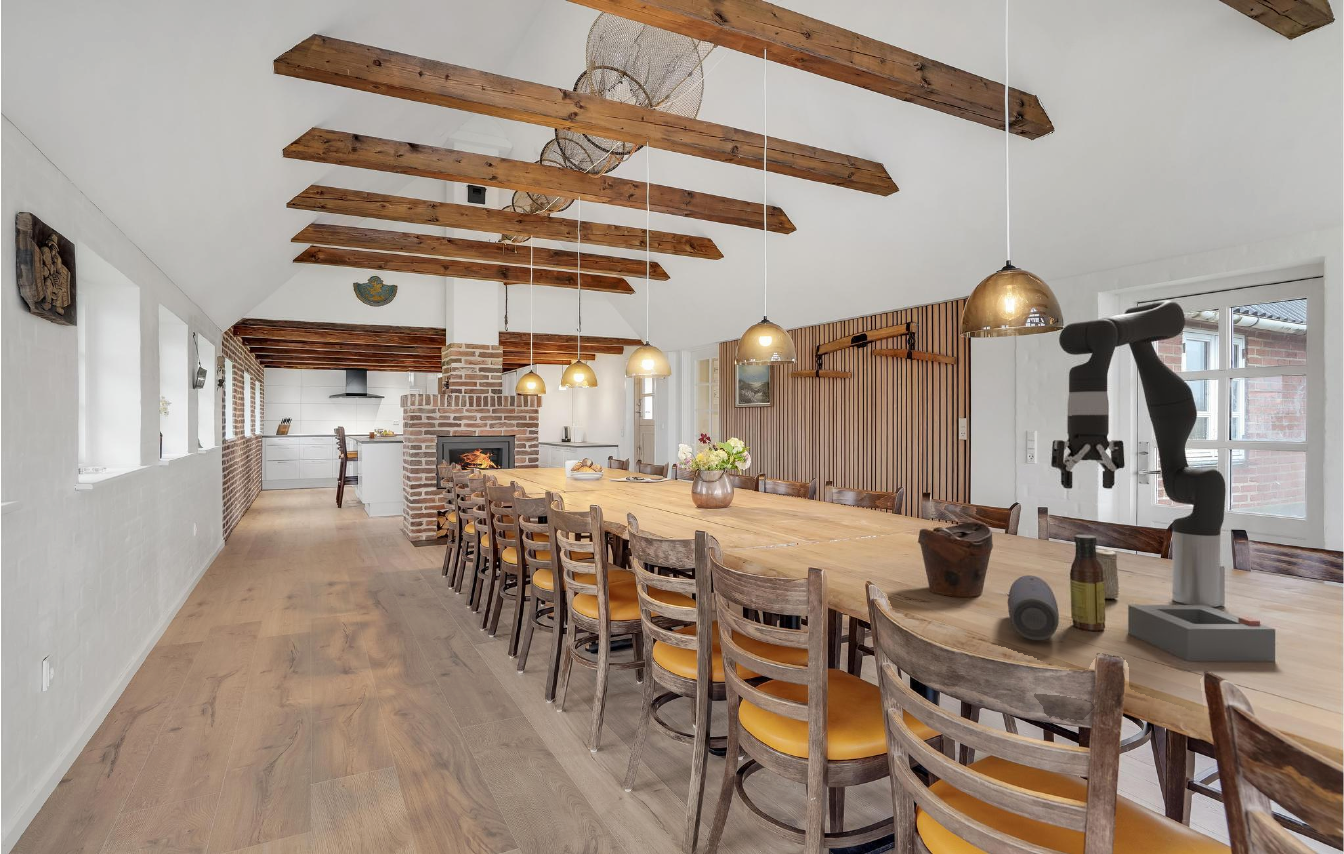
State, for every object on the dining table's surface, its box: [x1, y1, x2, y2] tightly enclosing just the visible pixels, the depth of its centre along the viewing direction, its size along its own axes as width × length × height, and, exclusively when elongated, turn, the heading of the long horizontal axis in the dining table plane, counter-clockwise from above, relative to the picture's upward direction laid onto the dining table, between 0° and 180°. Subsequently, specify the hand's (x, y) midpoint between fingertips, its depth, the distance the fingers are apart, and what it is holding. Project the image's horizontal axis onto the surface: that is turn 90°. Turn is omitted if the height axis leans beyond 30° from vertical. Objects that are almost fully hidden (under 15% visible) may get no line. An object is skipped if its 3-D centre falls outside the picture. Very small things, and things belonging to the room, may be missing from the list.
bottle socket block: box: [1127, 604, 1276, 663], centre depth 128 cm, size 16×16×7 cm
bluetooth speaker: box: [1007, 574, 1060, 641], centre depth 138 cm, size 23×9×10 cm, turn 152°
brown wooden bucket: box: [917, 521, 994, 598], centre depth 170 cm, size 18×20×18 cm
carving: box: [1096, 548, 1120, 600], centre depth 164 cm, size 6×8×12 cm
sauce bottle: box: [1069, 534, 1106, 632], centre depth 140 cm, size 7×6×20 cm
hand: (1087, 488), depth 140 cm, fingers open, 8 cm apart
